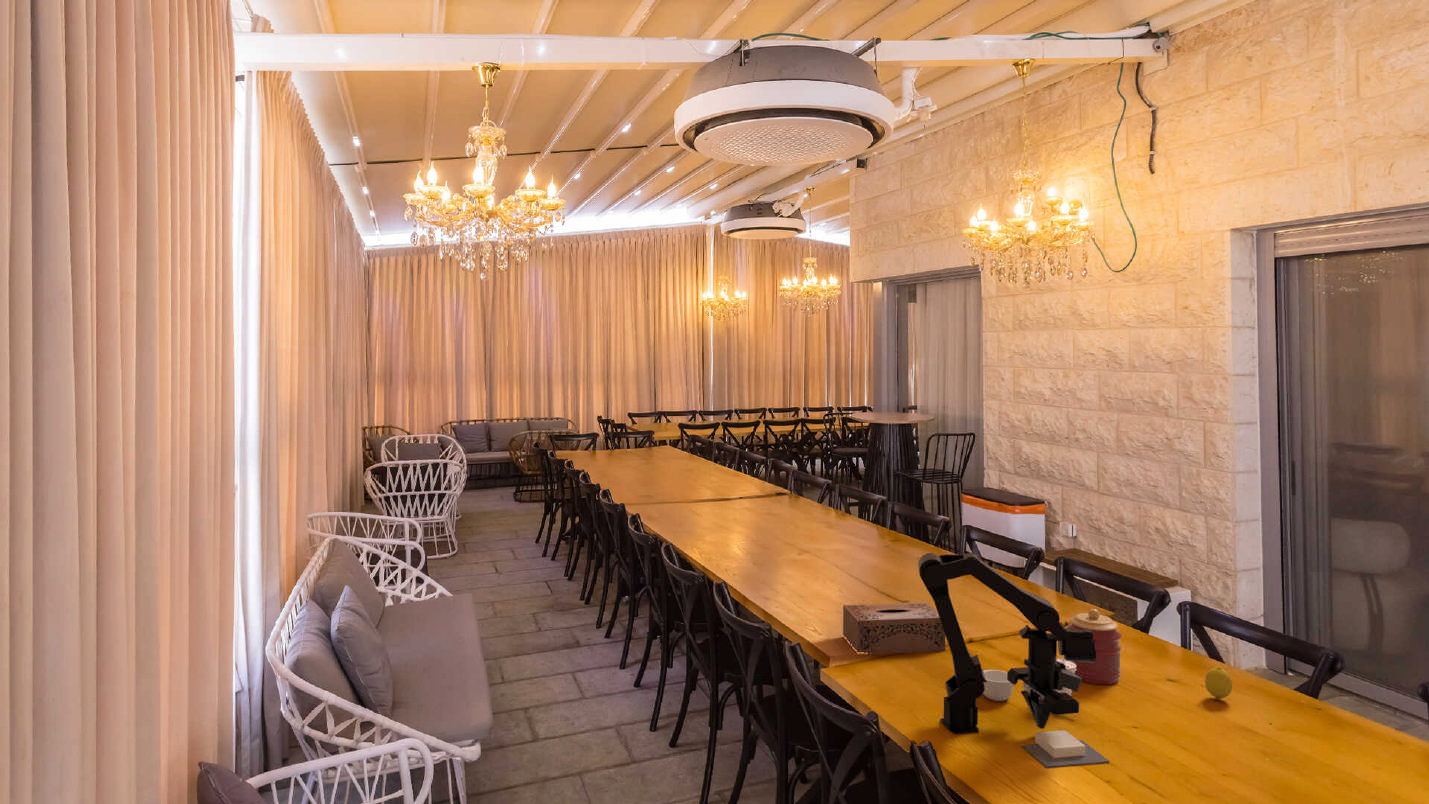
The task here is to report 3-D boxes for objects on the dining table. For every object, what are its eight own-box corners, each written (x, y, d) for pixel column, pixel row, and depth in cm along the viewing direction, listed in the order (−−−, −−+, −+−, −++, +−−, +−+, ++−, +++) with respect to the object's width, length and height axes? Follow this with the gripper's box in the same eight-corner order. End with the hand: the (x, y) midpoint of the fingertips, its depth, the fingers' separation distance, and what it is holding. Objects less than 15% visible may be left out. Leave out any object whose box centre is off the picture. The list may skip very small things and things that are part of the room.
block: (1035, 741, 166) (1054, 758, 159) (1035, 732, 166) (1054, 748, 159) (1065, 739, 167) (1085, 755, 160) (1065, 730, 167) (1085, 745, 160)
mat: (1046, 767, 156) (1046, 766, 156) (1022, 746, 165) (1022, 744, 165) (1109, 762, 158) (1109, 761, 158) (1082, 741, 167) (1082, 740, 167)
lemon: (1206, 692, 192) (1207, 661, 192) (1233, 698, 189) (1234, 666, 188) (1203, 700, 188) (1204, 667, 188) (1230, 706, 184) (1231, 673, 184)
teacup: (1007, 707, 184) (1007, 685, 184) (975, 698, 189) (975, 676, 189) (1020, 693, 192) (1020, 672, 192) (989, 685, 197) (989, 664, 196)
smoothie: (1059, 710, 182) (1060, 651, 182) (1040, 698, 189) (1041, 642, 188) (1081, 706, 184) (1083, 649, 184) (1062, 695, 190) (1064, 639, 190)
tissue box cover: (857, 655, 217) (857, 620, 217) (843, 638, 232) (843, 605, 231) (945, 652, 220) (945, 617, 220) (925, 634, 235) (926, 602, 234)
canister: (1115, 690, 194) (1116, 620, 193) (1059, 677, 202) (1061, 610, 201) (1124, 673, 204) (1126, 607, 203) (1071, 662, 212) (1073, 598, 211)
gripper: (1103, 672, 162) (1101, 745, 162) (1050, 641, 180) (1049, 707, 181) (1054, 675, 160) (1053, 749, 161) (1006, 644, 178) (1005, 710, 179)
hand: (1040, 727), depth 170 cm, fingers closed
